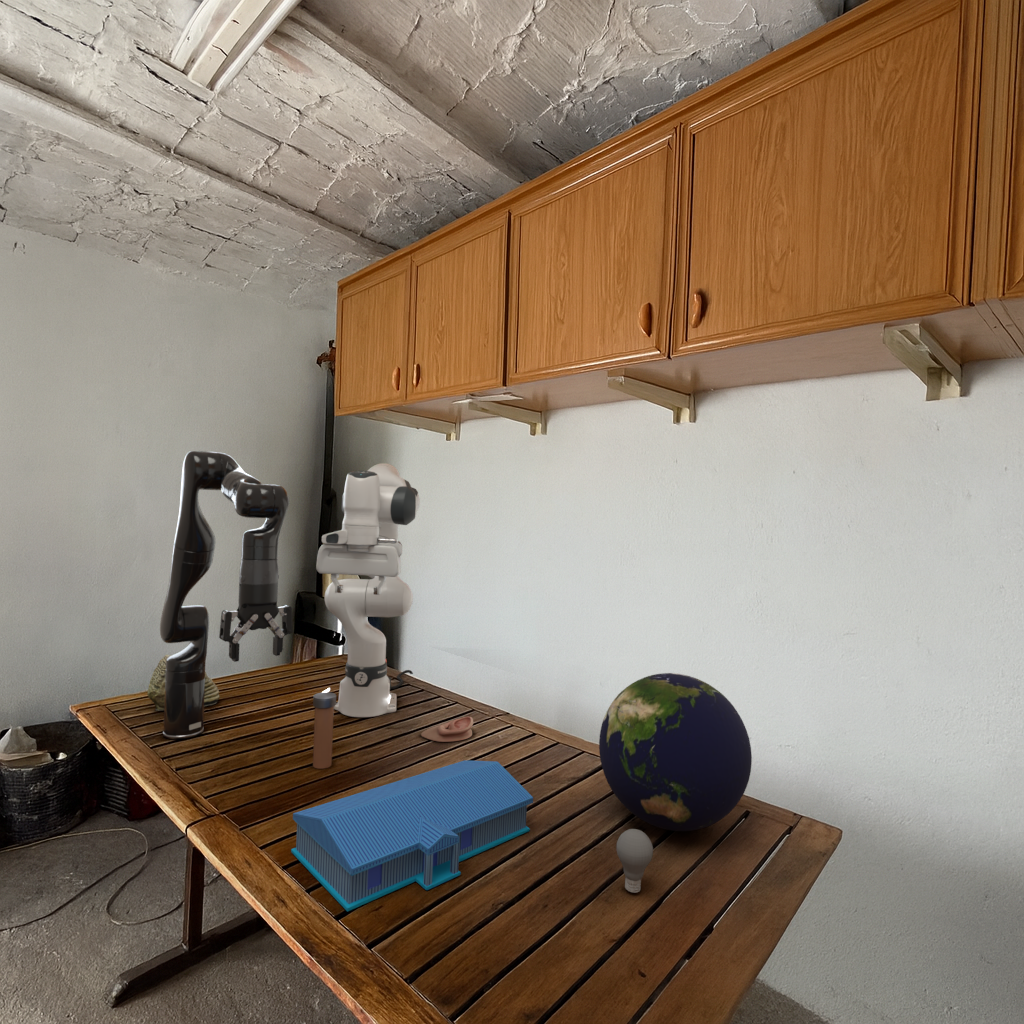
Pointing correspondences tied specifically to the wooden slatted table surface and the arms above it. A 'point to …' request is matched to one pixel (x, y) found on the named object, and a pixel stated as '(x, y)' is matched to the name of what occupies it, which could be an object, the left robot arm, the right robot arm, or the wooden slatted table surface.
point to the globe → (675, 752)
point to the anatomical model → (450, 730)
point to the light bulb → (634, 857)
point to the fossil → (158, 687)
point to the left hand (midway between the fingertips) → (256, 657)
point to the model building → (409, 830)
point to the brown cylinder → (323, 737)
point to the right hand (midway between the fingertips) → (358, 593)
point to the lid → (324, 700)
